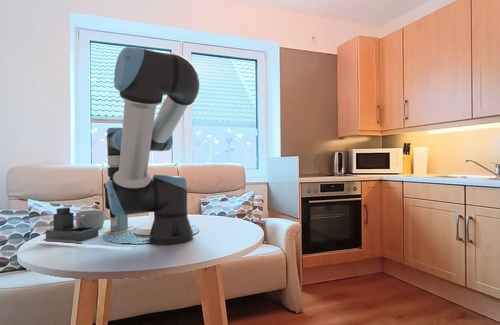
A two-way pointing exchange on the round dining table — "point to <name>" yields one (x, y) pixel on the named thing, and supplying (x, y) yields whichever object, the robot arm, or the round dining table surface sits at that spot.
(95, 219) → the teacup
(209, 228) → the round dining table surface
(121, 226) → the plug
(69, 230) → the dark grey block holder
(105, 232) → the board
